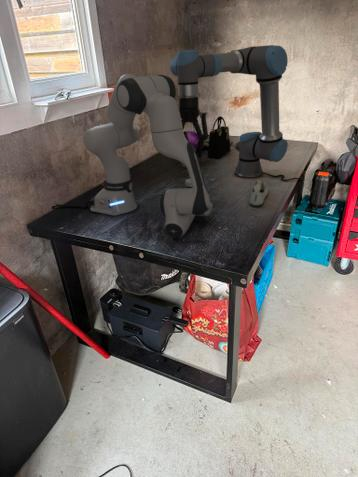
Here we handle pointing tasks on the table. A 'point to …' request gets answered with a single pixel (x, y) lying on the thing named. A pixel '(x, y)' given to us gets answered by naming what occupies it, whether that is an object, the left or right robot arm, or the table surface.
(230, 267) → the table surface
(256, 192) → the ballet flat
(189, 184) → the lid
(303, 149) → the table surface
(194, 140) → the decorative orb
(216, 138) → the handbag
